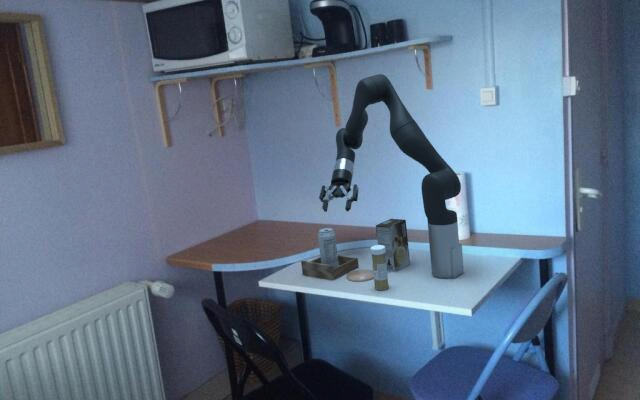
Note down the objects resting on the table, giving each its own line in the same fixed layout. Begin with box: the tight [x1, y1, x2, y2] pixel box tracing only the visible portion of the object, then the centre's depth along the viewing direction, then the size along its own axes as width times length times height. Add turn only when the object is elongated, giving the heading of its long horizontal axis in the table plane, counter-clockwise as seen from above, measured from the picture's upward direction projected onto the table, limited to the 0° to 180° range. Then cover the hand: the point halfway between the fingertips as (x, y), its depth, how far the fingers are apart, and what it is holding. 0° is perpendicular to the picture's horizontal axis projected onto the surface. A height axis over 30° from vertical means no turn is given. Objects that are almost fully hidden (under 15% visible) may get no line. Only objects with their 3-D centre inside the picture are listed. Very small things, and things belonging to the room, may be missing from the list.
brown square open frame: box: [300, 254, 360, 281], centre depth 194 cm, size 14×14×5 cm
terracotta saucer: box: [345, 269, 374, 283], centre depth 185 cm, size 10×10×1 cm
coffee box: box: [375, 218, 411, 273], centre depth 189 cm, size 9×6×16 cm
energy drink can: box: [317, 227, 340, 268], centre depth 193 cm, size 6×6×15 cm
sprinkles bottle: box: [370, 244, 390, 291], centre depth 171 cm, size 5×5×13 cm
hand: (335, 210), depth 201 cm, fingers open, 8 cm apart
